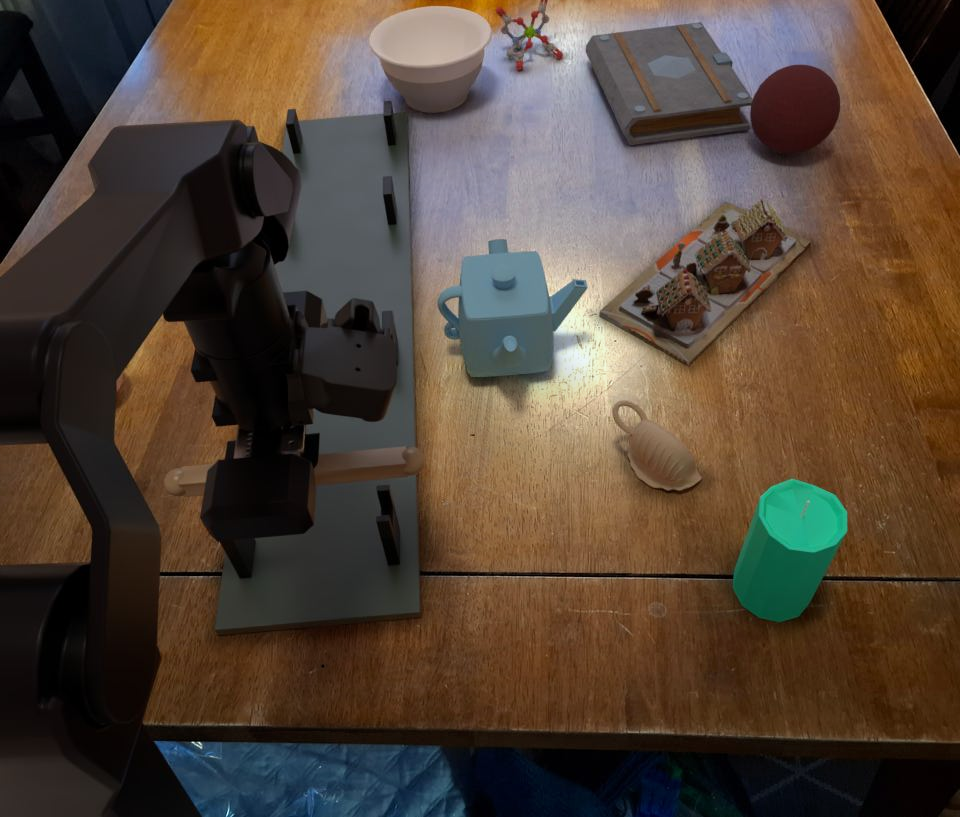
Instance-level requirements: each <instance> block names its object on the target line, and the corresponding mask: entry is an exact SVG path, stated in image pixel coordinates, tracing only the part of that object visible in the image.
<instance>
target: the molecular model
mask: <svg viewBox="0 0 960 817" xmlns="http://www.w3.org/2000/svg"><path fill="white" fill-rule="evenodd" d="M548 2H549V0H540V1H539V4H538V7H537V10H533V11H532V12H531V14H530V17H531V22H530V25H529V26H527V25H526V24H525V23H524V18H523V17H520V16H519V17H518V18H512V16H510V15H509V14H508V13H507V12H506V11H505V9H504V8H503V7H502V6H497V7H496V9H495V12H496V14H497V15H498V16H499V18H500V19H501V20H502V21H503V22H504V25H503V26H501V28H500V33H502V35H507V36H508V37H509V38H510V39H511V42H512V45H511V48H510V49H508V50H507V51H506V56H507V57H508V58H514V57H516V59H515V60H516V61H515V62H516V64H515V65H516V66H515V68H516V70H517V71H522V70H523V68H524V58H525V53H526V52H527V51H528V50H531V49H533V46H534V43H533V41H532V38H533V37H535V38H537V39H539V40H540V42H541V46H542V48H543V49H544V50H547V51H548V52H550V53H551V54H552V55H553V56H554V57H556V59H558V60H561V59H562V58H563V57H564V53H563V52H562V51H561V50H560V49H559V48H558V47H556V45H555V44H554V43H552V42H550V41H549V38H548V36H547V35H546V34H545V35H542V34H541V33H542V29H543V27H544V25H545V24H548V23H549V21H550V16H549V15H548V14H546V10H547V5H548ZM539 14H541V15H542V16H541V23H540V25H539V26H538V28H534V24H535V20H536V19H538V17H539ZM511 23H515V24H516V25H518V26H521V27H522V28H523V29H524V30H523V34H521V35H520V36H514V35H513V34H512V33H511V32H510V29H509V27H508V26H509V24H511ZM526 38H527V42H526V43H525V47H524V48H523V49H522V51H521V50H520V51H518V52H515V51H514V50H515V48H516V49H521V48H522V46H523V43H524V42H523V41H525V39H526Z"/></svg>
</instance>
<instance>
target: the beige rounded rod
mask: <svg viewBox="0 0 960 817" xmlns="http://www.w3.org/2000/svg"><path fill="white" fill-rule="evenodd" d="M426 461H427V460H426V456H425V453H424V452H423V451H422V450H421V449H419V448H414V447H409V448H406V447H394V448H383V449H372V450H361V451H349V452H338V453H327V454H319V457H318V464H317V466H316V467H315V468H314V473H315V482H316V485H325V484H336V483H347V482H358V481H369V480H380V479H391V478H402V477H409V475H416V474H417V475H418V474H420V473H421V472H422V471H423V470H424V469H425V467H426V464H427V462H426ZM214 464H215V463H207V464H197V465H196V464H195V465H186V466H181V467H179V468H178V467H176V468H173V469H171V470H169V471H168V472H167V473H166V474H165V476H164V479H163V486H164V489H165V491H166V492H167V493H168V494H169V495H171V496H173V497H183V496H184V498H191V497H203V495H204V489H205V483H206V477H207V471H208V470H209V469H210V468H211V467H212V466H213V465H214Z"/></svg>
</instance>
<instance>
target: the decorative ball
mask: <svg viewBox="0 0 960 817" xmlns="http://www.w3.org/2000/svg"><path fill="white" fill-rule="evenodd" d="M752 99H753V101H752V104H751V106H750V113H749V117H750V123H751V125H750V126H751V128H752V130H753V133H754V135H755V137H756V138H757V139H758V140H759V142H760V143H761V144H762V145H763V146H764V147H766V148H767V149H769V150H771V151H773V152H775V153H779V154H784V155H797V154H802V153H805V152H808V151H810V150H812V149H815V148H816V147H817V146H819V145H820V144H822V143H823V142H824V141H825V140H826V139H827V138H828V137H829V136H830V135H831V133H832V132H833V130H834V129H835V127H836V125H837V122H838V121H839V117H840V111H841V97H840V92H839V90H838V87H837V84H836V83H835V82H834V80H833V78H832V77H831V76H830V75H828V74H827V73H826V72H825V71H824V70H822V69H820V68H819V67H816V66H812V65H809V64H791V65H788V66H785V67H782V68H779V69H778V70H777V69H776V71H774V72H772V73H771V74H770V75H768V76H767V77H766V78H765V79H764V80H763V82H761V84H760V85H759V86H758V88H757V90H756V92H755V93H754V95H753V97H752Z"/></svg>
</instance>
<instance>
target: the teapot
mask: <svg viewBox="0 0 960 817" xmlns="http://www.w3.org/2000/svg"><path fill="white" fill-rule="evenodd" d="M487 242H488V243H487V244H488V253H487V254H477V255H469V256H468V255H467V256H465V257H463V258H462V260H461V266H460V277H459V285H452V286H449V287H447V288H445V289H444V290H443V291H441V292H440V294H439V295H438V298H437V308H438V311H439V313H440V314H441V316H442V317H443V318H444V319H445V321H447V323H446V324H445V325H444V327H443V332H444V335H445V337H446V338H447V339H450V340H454V341H458V340H459V344H460V349H461V353H462V359H463V363H464V366H465V369H466V371H467V373H468V376H470V377H472V378H488V377H489V378H490V377H501V376H502V377H503V376H516V375H525V374H536V373H543V372H548V371H549V370H550V368H551V365H552V363H553V358H554V332H556V331H557V330H558V329H559V328H560V327H561V325H562V323H563V322H564V321H565V319H566V318H567V316H568V315H569V314H570V312H571V311H572V310H573V309H574V307H575V306H576V304H578V302H579V301H580V300H581V298H582V296H583V295H584V294H585V293H586V291H587V290H588V283H587V279H579V278H577V279H576V278H573V279H572V280H571V281H570V282H569V283H567V284H566V285H565V286H563V287H562V288H561V289H559V290H557V291H556V292H555V293H554V294H552V295H550V294H549V288H548V284H547V279H546V275H545V274H546V273H545V271H544V266H543V261H542V258H541V256H540V254H539V252H538V251H535V250H533V251H531V250H530V251H511V252H510V251H509V248H508V241H507V239H505V238H497V239H490V240H488V241H487ZM456 298H458V308H457V309H458V310H457V313H458V314H457V315H455V314H454V312H453V311H452V310H451V309H450V308H449V307H448V306H447V302H448V301H449V300H451V299H456Z"/></svg>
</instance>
